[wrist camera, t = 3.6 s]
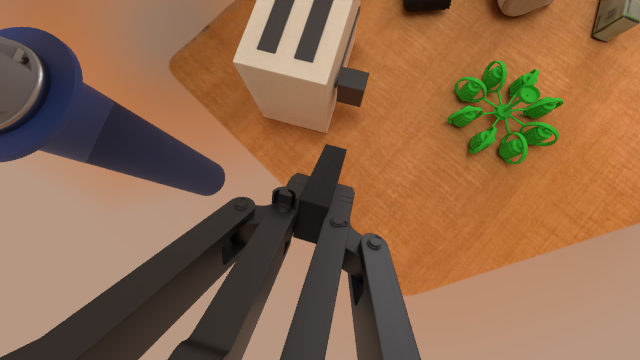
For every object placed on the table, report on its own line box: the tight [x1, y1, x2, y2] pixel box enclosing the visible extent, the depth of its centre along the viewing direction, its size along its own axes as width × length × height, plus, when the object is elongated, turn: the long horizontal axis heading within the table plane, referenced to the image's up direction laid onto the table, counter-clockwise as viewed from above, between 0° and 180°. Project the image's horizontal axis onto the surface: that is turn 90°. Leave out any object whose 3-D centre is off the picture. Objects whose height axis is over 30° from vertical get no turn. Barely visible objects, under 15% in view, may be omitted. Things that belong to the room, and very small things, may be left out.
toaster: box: [233, 0, 360, 134], centre depth 33 cm, size 10×16×13 cm, turn 164°
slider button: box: [336, 67, 369, 107], centre depth 32 cm, size 3×2×4 cm
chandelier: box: [448, 61, 563, 164], centre depth 34 cm, size 15×15×7 cm
